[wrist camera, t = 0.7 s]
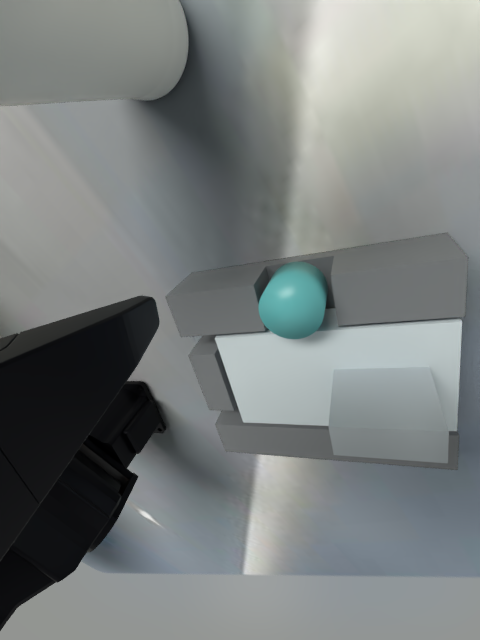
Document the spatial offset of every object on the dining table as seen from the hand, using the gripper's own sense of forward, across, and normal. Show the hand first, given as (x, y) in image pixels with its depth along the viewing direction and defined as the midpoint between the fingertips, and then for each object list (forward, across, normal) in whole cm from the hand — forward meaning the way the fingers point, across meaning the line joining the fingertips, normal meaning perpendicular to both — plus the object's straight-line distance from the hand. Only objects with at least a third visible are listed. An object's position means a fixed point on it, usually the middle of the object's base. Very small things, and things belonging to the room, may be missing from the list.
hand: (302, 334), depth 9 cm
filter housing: (+12, 0, +10) cm, 16 cm away
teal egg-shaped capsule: (+10, +2, +4) cm, 11 cm away
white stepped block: (+11, -1, +9) cm, 14 cm away
